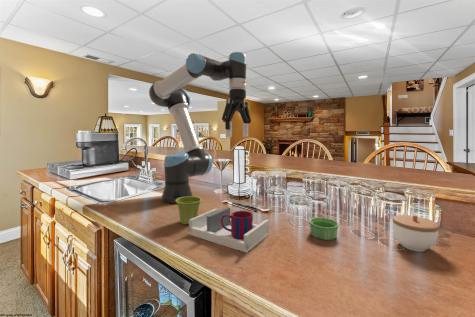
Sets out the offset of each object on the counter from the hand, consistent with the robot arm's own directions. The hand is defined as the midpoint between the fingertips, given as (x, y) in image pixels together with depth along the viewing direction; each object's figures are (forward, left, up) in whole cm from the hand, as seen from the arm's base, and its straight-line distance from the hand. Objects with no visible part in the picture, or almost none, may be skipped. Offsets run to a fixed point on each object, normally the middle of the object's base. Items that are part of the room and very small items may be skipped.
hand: (237, 137), depth 106 cm
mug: (+19, -30, -31) cm, 47 cm away
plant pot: (-3, -28, -32) cm, 43 cm away
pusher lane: (+16, -29, -32) cm, 46 cm away
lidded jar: (+66, -6, -32) cm, 73 cm away
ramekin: (+42, -12, -32) cm, 54 cm away
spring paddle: (+12, -29, -30) cm, 44 cm away
